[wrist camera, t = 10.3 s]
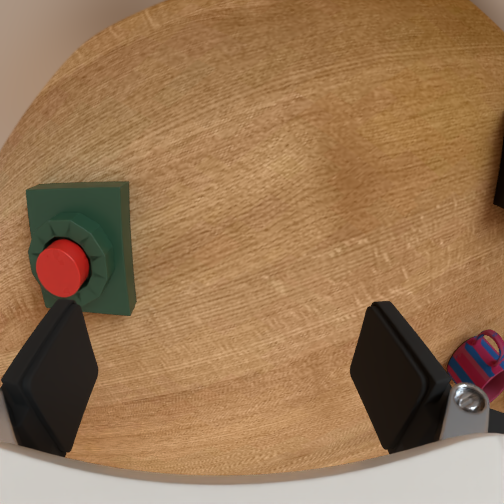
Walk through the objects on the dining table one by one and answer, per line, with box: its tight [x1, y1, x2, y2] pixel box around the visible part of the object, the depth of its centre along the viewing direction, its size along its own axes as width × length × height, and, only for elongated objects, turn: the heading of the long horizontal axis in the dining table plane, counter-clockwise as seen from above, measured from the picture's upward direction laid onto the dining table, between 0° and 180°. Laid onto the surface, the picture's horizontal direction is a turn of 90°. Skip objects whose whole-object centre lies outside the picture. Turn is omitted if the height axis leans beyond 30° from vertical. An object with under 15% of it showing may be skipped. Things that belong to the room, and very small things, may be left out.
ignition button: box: [36, 239, 89, 297], centre depth 19 cm, size 4×4×2 cm
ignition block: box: [26, 182, 137, 316], centre depth 21 cm, size 10×8×4 cm
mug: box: [447, 330, 504, 403], centre depth 29 cm, size 7×10×7 cm
